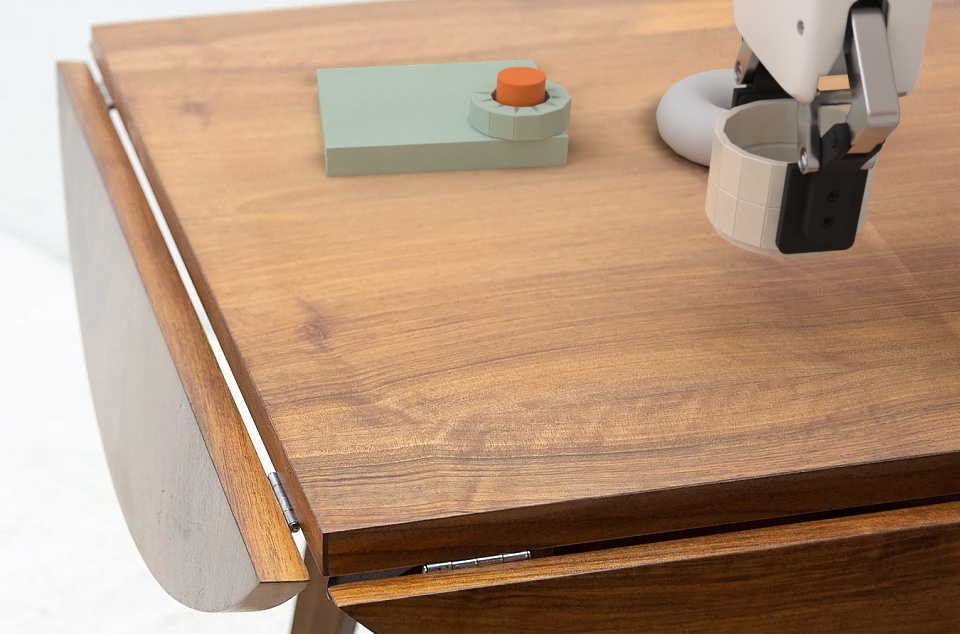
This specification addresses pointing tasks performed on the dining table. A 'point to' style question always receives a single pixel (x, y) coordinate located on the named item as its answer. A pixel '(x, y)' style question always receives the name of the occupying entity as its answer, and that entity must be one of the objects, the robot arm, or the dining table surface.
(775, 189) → the bowl
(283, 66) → the dining table surface
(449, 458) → the dining table surface
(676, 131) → the donut
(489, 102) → the scale
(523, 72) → the button
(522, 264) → the dining table surface
